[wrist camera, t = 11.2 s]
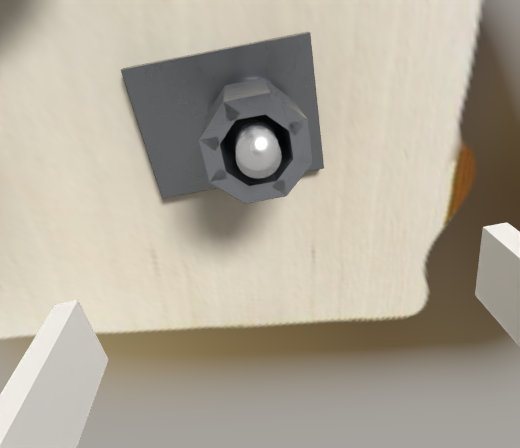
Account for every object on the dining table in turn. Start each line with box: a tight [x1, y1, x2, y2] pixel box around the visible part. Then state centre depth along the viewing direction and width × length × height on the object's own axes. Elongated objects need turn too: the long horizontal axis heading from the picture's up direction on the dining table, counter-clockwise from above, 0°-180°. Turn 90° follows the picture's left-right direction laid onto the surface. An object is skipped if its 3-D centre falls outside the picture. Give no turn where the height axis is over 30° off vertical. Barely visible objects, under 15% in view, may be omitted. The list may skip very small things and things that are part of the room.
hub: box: [199, 78, 313, 204], centre depth 30 cm, size 7×7×6 cm
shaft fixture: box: [121, 32, 324, 198], centre depth 31 cm, size 12×16×12 cm
